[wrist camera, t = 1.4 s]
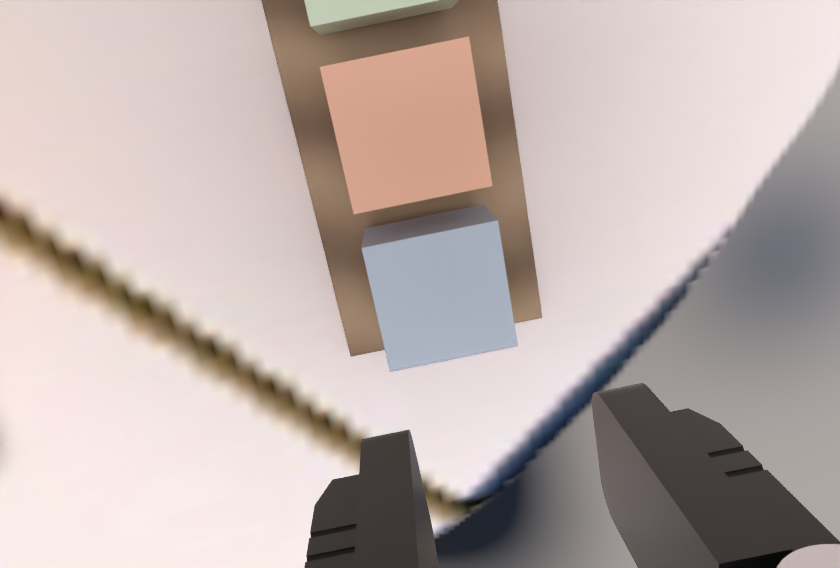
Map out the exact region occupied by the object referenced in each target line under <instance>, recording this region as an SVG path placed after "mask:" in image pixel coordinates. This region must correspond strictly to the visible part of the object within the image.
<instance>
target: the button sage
mask: <svg viewBox="0 0 840 568" xmlns="http://www.w3.org/2000/svg"><path fill="white" fill-rule="evenodd" d="M304 1H305V6H306V10H307V14H308V19H309V23H310V27H311V28H312V29H314V30H315V31H316V32H317V33H318V34H319V35H323V34H328V33H333V32H338V31H343V30H348V29H353V28H357V27H362V26H367V25H372V24H377V23H382V22H387V21H392V20H397V19H401V18H406V17H411V16H416V15H421V14H426V13H431V12H436V11H440V10H445V9H450V8H452V7H453V6H454V5H455V4H456V3H457V1H458V0H304Z"/></svg>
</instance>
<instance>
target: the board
mask: <svg viewBox="0 0 840 568" xmlns="http://www.w3.org/2000/svg"><path fill="white" fill-rule="evenodd" d="M262 4H263V8H264V12H265V16H266V20H267V24H268V28H269V32H270V36H271V40H272V44H273V48H274V52H275V56H276V60H277V64H278V68H279V72H280V76H281V80H282V84H283V88H284V92H285V96H286V100H287V104H288V108H289V112H290V116H291V120H292V124H293V128H294V131H295V135H296V139H297V143H298V147H299V151H300V155H301V159H302V163H303V167H304V171H305V175H306V179H307V183H308V187H309V191H310V195H311V199H312V203H313V207H314V211H315V215H316V219H317V223H318V227H319V231H320V235H321V239H322V243H323V247H324V251H325V255H326V259H327V263H328V267H329V271H330V275H331V279H332V283H333V287H334V291H335V295H336V299H337V303H338V307H339V311H340V315H341V319H342V323H343V327H344V331H345V335H346V339H347V343H348V347H349V351H350V355H351V356H356V355H361V354H366V353H371V352H376V351H381V350H385V348H384V343H383V339H382V335H381V330H380V326H379V322H378V317H377V313H376V309H375V304H374V300H373V296H372V291H371V287H370V283H369V278H368V274H367V270H366V266H365V261H364V257H363V253H362V240H363V233H364V229H365V228H370V227H375V226H380V225H385V224H390V223H394V222H399V221H404V220H409V219H414V218H419V217H424V216H429V215H434V214H439V213H444V212H448V211H453V210H458V209H463V208H468V207H473V206H478V205H483V204H484V205H485V206H486V207H487V208H488V210H489V211H490V212H491V213H492V214H493V215H494V216H495V217H496V219H497V220H498V224H499V230H500V236H501V243H502V249H503V255H504V262H505V268H506V274H507V281H508V287H509V293H510V300H511V306H512V312H513V319H514V323H519V322H524V321H529V320H533V319H538V318H542V313H541V306H540V299H539V291H538V284H537V277H536V270H535V263H534V256H533V249H532V242H531V235H530V228H529V221H528V214H527V207H526V200H525V193H524V186H523V179H522V172H521V165H520V158H519V151H518V144H517V137H516V130H515V123H514V116H513V109H512V102H511V95H510V88H509V80H508V73H507V66H506V59H505V52H504V45H503V38H502V31H501V24H500V17H499V10H498V3H497V0H458V1H457V3H456V4H455V5H454V6H453V7H452V8H450V9H445V10H440V11H436V12H431V13H426V14H421V15H416V16H411V17H406V18H401V19H397V20H392V21H387V22H382V23H377V24H372V25H367V26H362V27H357V28H353V29H348V30H343V31H338V32H333V33H328V34H323V35H319V34H318V33H317V32H316V31H315V30H314V29H312V28H311V27H310V23H309V19H308V14H307V10H306V6H305V1H304V0H262ZM464 37H469V40H470V46H471V52H472V59H473V65H474V71H475V78H476V84H477V90H478V97H479V103H480V109H481V116H482V122H483V129H484V135H485V141H486V148H487V154H488V160H489V167H490V173H491V179H492V186H491V187H486V188H481V189H476V190H471V191H466V192H461V193H456V194H451V195H446V196H442V197H437V198H432V199H427V200H422V201H417V202H412V203H407V204H402V205H397V206H392V207H388V208H383V209H378V210H373V211H368V212H363V213H358V214H353V209H352V205H351V201H350V196H349V192H348V188H347V183H346V179H345V175H344V170H343V166H342V162H341V157H340V153H339V149H338V144H337V140H336V136H335V131H334V127H333V123H332V118H331V114H330V110H329V105H328V101H327V97H326V92H325V88H324V84H323V79H322V75H321V71H320V67H322V66H327V65H332V64H337V63H342V62H347V61H351V60H356V59H361V58H366V57H371V56H376V55H381V54H386V53H391V52H395V51H400V50H405V49H410V48H415V47H420V46H425V45H430V44H435V43H439V42H444V41H449V40H454V39H459V38H464Z"/></svg>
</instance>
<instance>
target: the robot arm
mask: <svg viewBox="0 0 840 568" xmlns="http://www.w3.org/2000/svg"><path fill="white" fill-rule="evenodd" d="M592 410H593V418H594V426H595V435H596V442H597V451H598V459H599V468H600V476H601V483H602V488H603V492H604V496H605V499H606V503H607V506H608V509H609V511H610V514H611V517H612V519H613V521H614V523H615V525H616V527H617V529H618V531H619V533H620V534H621V537H622V538H623V540H624V542H625V544H626V546H627V548H628V550H629V552H630V553H631V555H632V557H633V559H634V561H635V563H636V565H637V567H638V568H840V542H839V541H838V540H837V539H836V538H835V537H834V536H833V535H832V534H831V533H830V532H829V531H828V530H827V529H826V528H825V527H824V526H823V525H822V524H821V523H820V522H819V521H818V520H817V519H816V518H815V517H814V516H813V515H812V514H811V513H810V512H809V511H808V510H807V509H806V508H805V507H804V506H803V505H802V504H801V503H800V502H799V501H798V500H797V499H796V498H795V497H794V496H793V495H792V494H791V493H790V492H789V491H788V490H787V489H786V488H785V487H784V486H783V485H782V484H781V483H780V482H779V481H778V480H777V479H776V478H775V477H774V476H773V475H772V474H771V473H770V472H769V471H768V470H764V469H763V467H762V464H761V463H759V461H758V460H757V459H756V458H755V457H754V456H753V455H752V454H750V453H749V452H748V451H744V449H743V446H742V445H741V444H740V443H739V442H738V441H737V440H736V439H735V438H734V437H733V436H732V435H731V434H730V433H729V432H728V431H727V430H726V429H725V428H724V427H723V426H722V425H721V424H720V423H718V422H716V421H713V420H711V419H709V418H707V417H705V416H703V415H701V414H699V413H697V412H695V411H692V410H690V409H683V410H678V411H673V412H670V411H669V410H668V409H667V408H666V407H665V406H664V404H663V403H662V402H661V401H660V400H659V399H658V398H657V397H656V396H655V394H654V393H653V392H652V391H651V390H650V389H649V388H648V387H647V386H646V385H645V384H643V383H640V384H635V385H630V386H625V387H620V388H615V389H610V390H605V391H600V392H595V393H594V394H593V396H592ZM310 533H311V538H309V544H308V550H307V562H305V568H438V563H437V554H436V547H435V542H434V535H433V530H432V524H431V519H430V515H429V510H428V506H427V501H426V497H425V493H424V488H423V484H422V479H421V475H420V471H419V466H418V462H417V457H416V453H415V448H414V444H413V440H412V436H411V433H410V430H405V431H400V432H395V433H391V434H386V435H381V436H376V437H371V438H366V439H362V442H361V457H360V473H359V475H354V476H349V477H344V478H339V479H334V480H332V481H331V483H330V484H329V486H328V487H327V488H326V490H325V491H324V493H323V494H322V496H321V497H320V499H319V500H318V501H317V503H316V504H315V507H314V513H313V519H312V526H311V532H310Z"/></svg>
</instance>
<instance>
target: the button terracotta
mask: <svg viewBox="0 0 840 568" xmlns="http://www.w3.org/2000/svg"><path fill="white" fill-rule="evenodd" d="M320 71H321V75H322V79H323V84H324V88H325V92H326V97H327V101H328V105H329V110H330V114H331V118H332V123H333V127H334V131H335V136H336V140H337V144H338V149H339V153H340V157H341V162H342V166H343V170H344V175H345V179H346V183H347V188H348V192H349V196H350V201H351V205H352V209H353V214H358V213H363V212H368V211H373V210H378V209H383V208H388V207H392V206H397V205H402V204H407V203H412V202H417V201H422V200H427V199H432V198H437V197H442V196H446V195H451V194H456V193H461V192H466V191H471V190H476V189H481V188H486V187H491V186H492V179H491V173H490V167H489V160H488V154H487V148H486V141H485V135H484V129H483V122H482V116H481V109H480V103H479V97H478V90H477V84H476V78H475V71H474V65H473V59H472V52H471V46H470V40H469V37H464V38H459V39H454V40H449V41H444V42H439V43H435V44H430V45H425V46H420V47H415V48H410V49H405V50H400V51H395V52H391V53H386V54H381V55H376V56H371V57H366V58H361V59H356V60H351V61H347V62H342V63H337V64H332V65H327V66H322V67H320Z"/></svg>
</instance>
